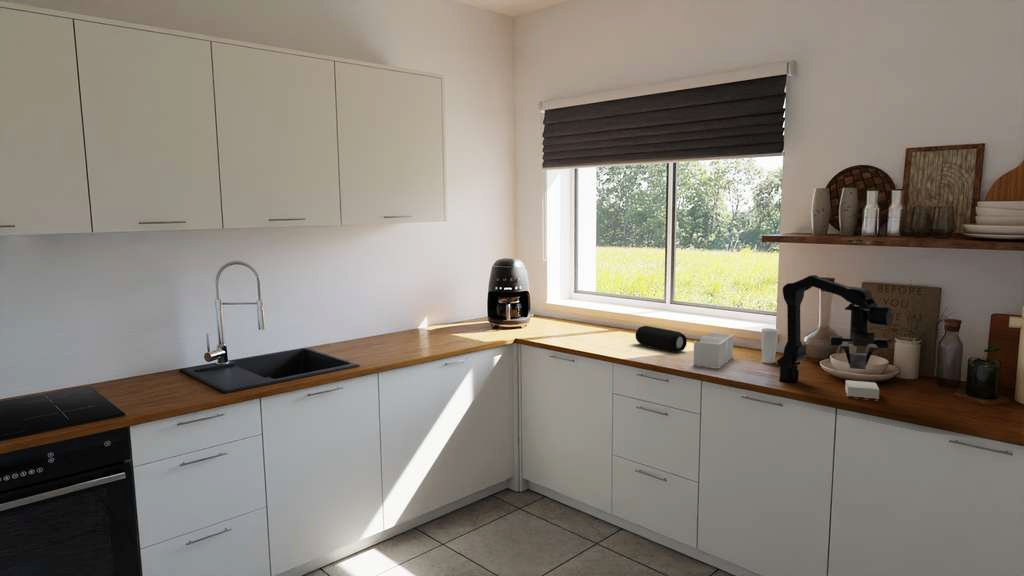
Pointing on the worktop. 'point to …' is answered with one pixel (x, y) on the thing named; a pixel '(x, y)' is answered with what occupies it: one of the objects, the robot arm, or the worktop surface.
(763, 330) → the white tumbler
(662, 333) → the portable speaker
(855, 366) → the charcoal cube
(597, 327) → the worktop surface
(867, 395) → the cream base block
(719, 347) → the storage container
